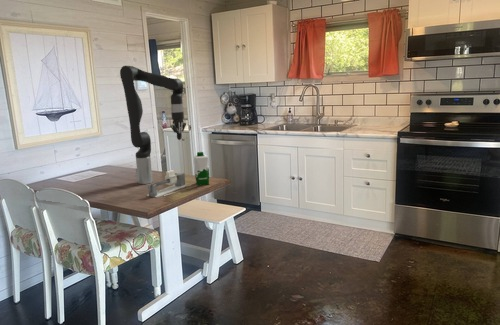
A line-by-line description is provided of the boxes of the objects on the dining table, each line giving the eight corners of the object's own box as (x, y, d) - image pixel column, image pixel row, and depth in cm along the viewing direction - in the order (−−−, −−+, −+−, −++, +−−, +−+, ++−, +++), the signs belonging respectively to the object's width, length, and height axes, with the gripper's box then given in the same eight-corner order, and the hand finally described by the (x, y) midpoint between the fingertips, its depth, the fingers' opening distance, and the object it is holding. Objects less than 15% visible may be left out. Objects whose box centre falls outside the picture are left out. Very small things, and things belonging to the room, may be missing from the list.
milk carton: (208, 181, 255) (206, 151, 250) (210, 184, 246) (208, 153, 242) (194, 182, 252) (192, 152, 248) (196, 186, 244) (194, 154, 240)
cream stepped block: (171, 185, 235) (170, 172, 233) (165, 184, 237) (164, 171, 236) (177, 183, 239) (176, 170, 238) (171, 182, 242) (170, 170, 240)
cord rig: (157, 197, 223) (155, 184, 221) (146, 196, 227) (145, 182, 225) (187, 186, 245) (186, 173, 244) (177, 184, 249) (176, 172, 248)
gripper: (179, 110, 250) (181, 137, 254) (165, 112, 239) (167, 140, 243) (188, 110, 247) (190, 137, 250) (175, 112, 235) (177, 140, 239)
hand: (179, 138), depth 246 cm, fingers closed
